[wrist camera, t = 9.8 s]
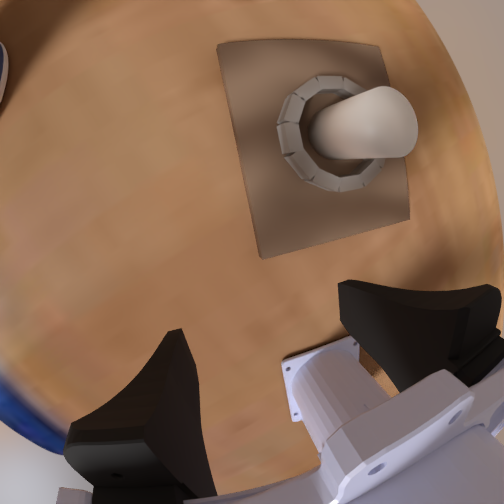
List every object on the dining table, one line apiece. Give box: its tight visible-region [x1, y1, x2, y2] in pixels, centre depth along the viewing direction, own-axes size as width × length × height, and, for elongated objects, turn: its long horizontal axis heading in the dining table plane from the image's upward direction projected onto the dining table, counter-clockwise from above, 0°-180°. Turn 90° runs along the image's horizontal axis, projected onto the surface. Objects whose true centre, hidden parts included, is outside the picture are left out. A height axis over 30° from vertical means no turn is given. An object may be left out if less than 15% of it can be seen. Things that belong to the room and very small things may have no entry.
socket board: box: [216, 39, 410, 260], centre depth 19 cm, size 16×14×2 cm
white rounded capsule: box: [308, 86, 418, 160], centre depth 16 cm, size 4×4×7 cm
